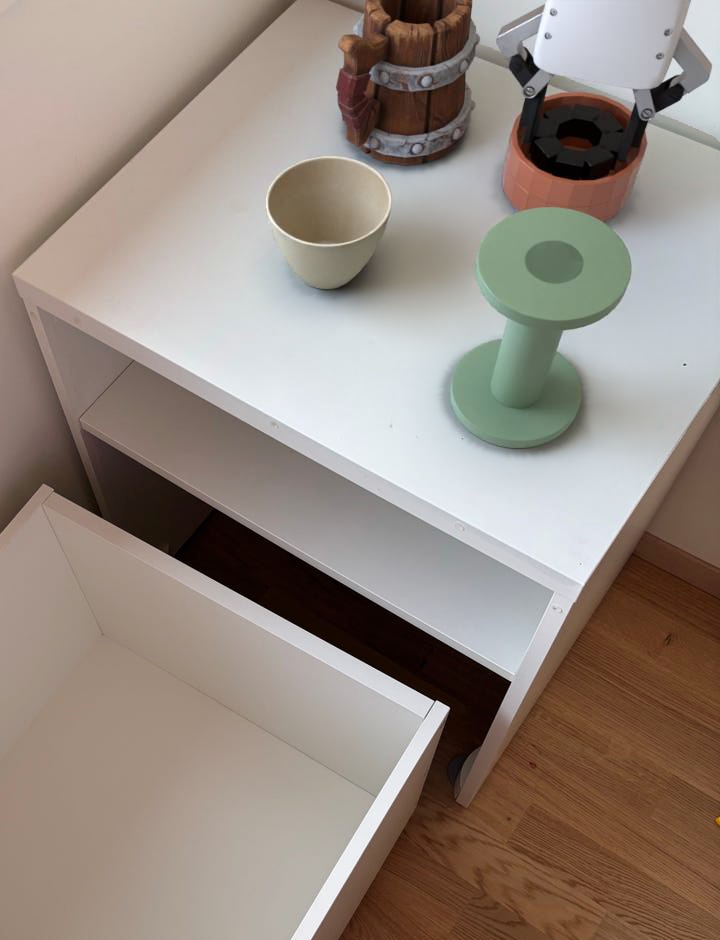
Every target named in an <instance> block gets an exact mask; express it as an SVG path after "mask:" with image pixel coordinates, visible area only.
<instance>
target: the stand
mask: <svg viewBox="0 0 720 940" xmlns="http://www.w3.org/2000/svg"><path fill="white" fill-rule="evenodd" d="M474 272H475V279H476V282H477V286H478V288H479V291H480V293H481V294H482V295H483V297H484V299H485V300H486V301H487V303H488V304H489V305H490V306H491V307H492V308H493V309H494V310H496V311H497V312H498V313H499V314H500V315H502V316H503V317H505V318H506V319H507V320H506V324H505V327H504V330H503V335H502V338H498V339H494V340H490V341H486V342H484V343H482V344H480V345H478V346H476V347H474V348H473V349H471V350H469V352H468V353H466V354H465V355H463V357H462V358H461V359H460V361H459V362H458V363H457V365H456V367H455V368H454V371H453V373H452V378H451V382H450V387H449V400H450V405H451V408H452V411H453V412H454V414H455V417H456V418H457V419H458V421H459V422H460V423H461V425H462V426H463V427H464V428H465V429H466V430H467V431H468V432H470V433H471V434H472V435H474V436H475V437H477V438H478V439H480V440H481V441H484V442H487V443H488V444H491V445H495V446H499V447H502V448H503V447H504V448H510V449H528V448H533V447H538V446H542V445H544V444H548V443H549V442H552V441H553V440H555V439H557V438H558V437H559V436H561V435H562V434H564V433H565V432H566V431H567V430H568V428H570V426H571V425H572V423H573V422H574V420H575V418H576V417H577V413H578V411H579V408H580V406H581V403H582V398H583V397H582V384H581V381H580V377H579V375H578V373H577V371H576V369H575V368H574V366H573V365H572V363H571V362H570V361H569V360H568V359H567V358H566V357H565V356H564V355H563V354H562V353H560V352H558V351H557V350H558V348H559V344H560V342H561V340H562V336H563V333H564V331H571V330H577V329H581V328H584V327H585V328H586V327H587V326H590V325H593V324H595V323H596V322H599V321H601V320H602V319H604V318H605V317H607V316H608V315H610V314H611V313H612V312H613V311H614V310H615V309H616V308H617V307H618V305H620V303H621V301H622V300H623V298H624V297H625V294H626V291H627V289H628V287H629V284H630V281H631V277H632V259H631V255H630V253H629V250H628V247H627V246H626V244H625V242H624V240H623V239H622V238H621V237H620V235H619V234H618V233H617V232H616V231H615V230H614V229H612V227H610V226H609V225H608V224H607V223H605V222H602V221H600V220H598V219H596V218H594V217H592V216H590V215H588V214H585V213H582V212H579V211H575V210H572V209H566V208H557V207H541V208H533V209H528V210H524V211H521V212H519V211H517V212H514V213H512V214H511V215H508V216H506V217H505V218H503V219H501V220H499V221H498V222H497V223H496V224H495V225H493V226H492V227H491V228H490V230H489V231H488V232H487V233H486V234H485V236H484V237H483V239H482V240H481V243H480V245H479V247H478V251H477V256H476V261H475V269H474Z"/></svg>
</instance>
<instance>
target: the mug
mask: <svg viewBox="0 0 720 940" xmlns="http://www.w3.org/2000/svg"><path fill="white" fill-rule="evenodd" d="M472 10H473V0H365V3H364V13H363V14H362V16H361V17H360V19H359V20H358V22H357V23H355V25H353V29H352V32H353V33H352V34H351V33H350V34H349V33H348V34H344V35H342V36H341V38H340V39H339V41H338V43H337V47H338V48H339V50H340V51H342V52H343V65H342V67H341V68H339V72H338V76H337V81H336V86H335V89H336V92H337V105H338V109H339V110H340V112H341V119H342V122H343V123H344V125H345V126H346V140H347V141H348V142H349V143H351V144H352V145H354V146H356V147H358V148H359V149H360V150H361V151H362V152H364V153H365V154H368V153H369V152H370V157H372V158H373V159H376V160H379V161H381V162H383V163H386V164H392V165H401V166H411V165H412V166H413V165H418V164H422V163H423V161H424V159H425V160H426V161H427V162H430V161H434V160H436V159H438V158H440V157H443V156H444V155H446V154H447V153H448V152H449V151H451V150H452V149H453V148H455V147H456V146H457V144H458V143H459V141H460V139H461V137H462V136H463V135H464V133H465V131H466V130H467V128H468V126H469V124H470V122H471V118H472V112H473V111H474V110H475V109H476V102H475V101H474V100H473V99H472V90H471V88H470V87H469V85H468V83H467V81H466V77H467V76H466V75H467V71H468V70H469V68H470V66H471V65H472V63H473V61H474V59H475V57H476V47H477V46H478V45H479V44H480V42H481V36H480V35H479V33H478V32H477V26H476V24H475V22H474V21H473V19H472Z"/></svg>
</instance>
